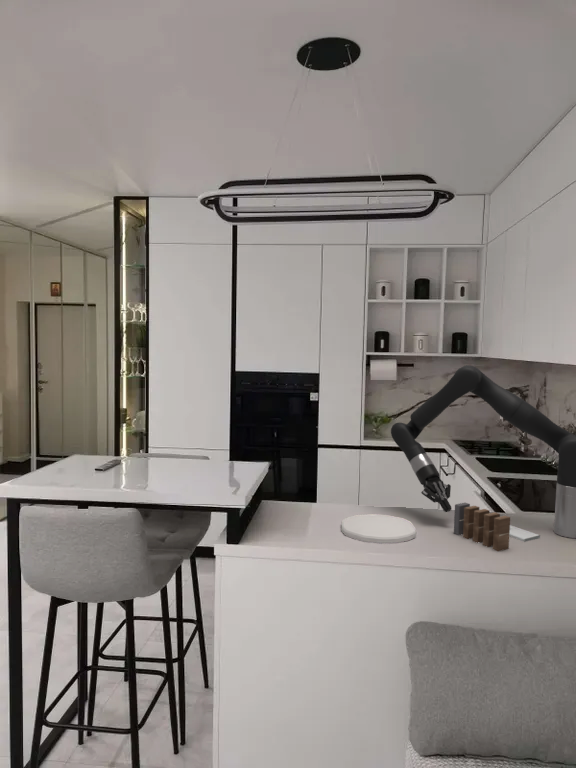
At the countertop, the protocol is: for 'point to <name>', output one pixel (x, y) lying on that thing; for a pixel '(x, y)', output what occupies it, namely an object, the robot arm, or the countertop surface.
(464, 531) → the domino
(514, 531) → the external hard drive
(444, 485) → the robot arm
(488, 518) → the domino
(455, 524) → the domino
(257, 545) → the countertop surface
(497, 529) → the domino
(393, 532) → the decorative plate
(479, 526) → the domino
